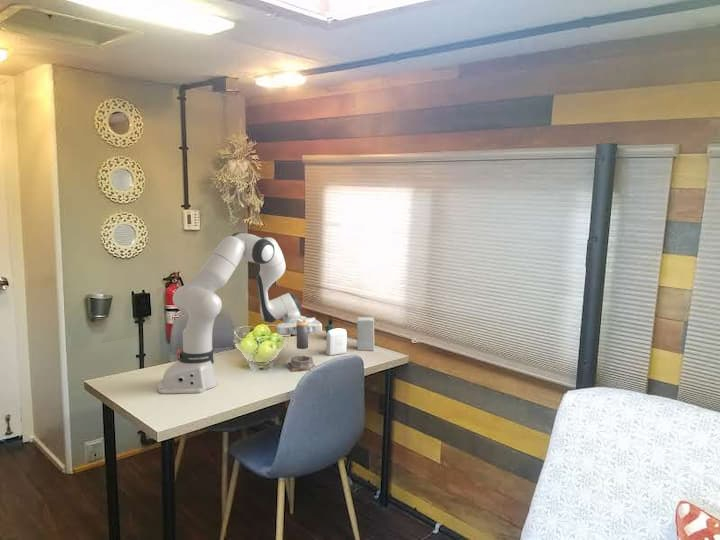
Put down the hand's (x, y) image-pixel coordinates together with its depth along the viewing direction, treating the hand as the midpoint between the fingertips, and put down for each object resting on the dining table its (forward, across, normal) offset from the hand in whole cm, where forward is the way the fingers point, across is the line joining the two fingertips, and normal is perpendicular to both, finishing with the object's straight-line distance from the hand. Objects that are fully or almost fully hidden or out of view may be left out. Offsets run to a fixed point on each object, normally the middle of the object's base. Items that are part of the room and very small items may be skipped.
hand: (302, 332), depth 237 cm
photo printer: (-17, +20, +16) cm, 31 cm away
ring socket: (-1, 0, +16) cm, 16 cm away
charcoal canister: (-1, 0, +7) cm, 7 cm away
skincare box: (-21, +36, +16) cm, 45 cm away
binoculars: (-44, +26, +16) cm, 53 cm away
